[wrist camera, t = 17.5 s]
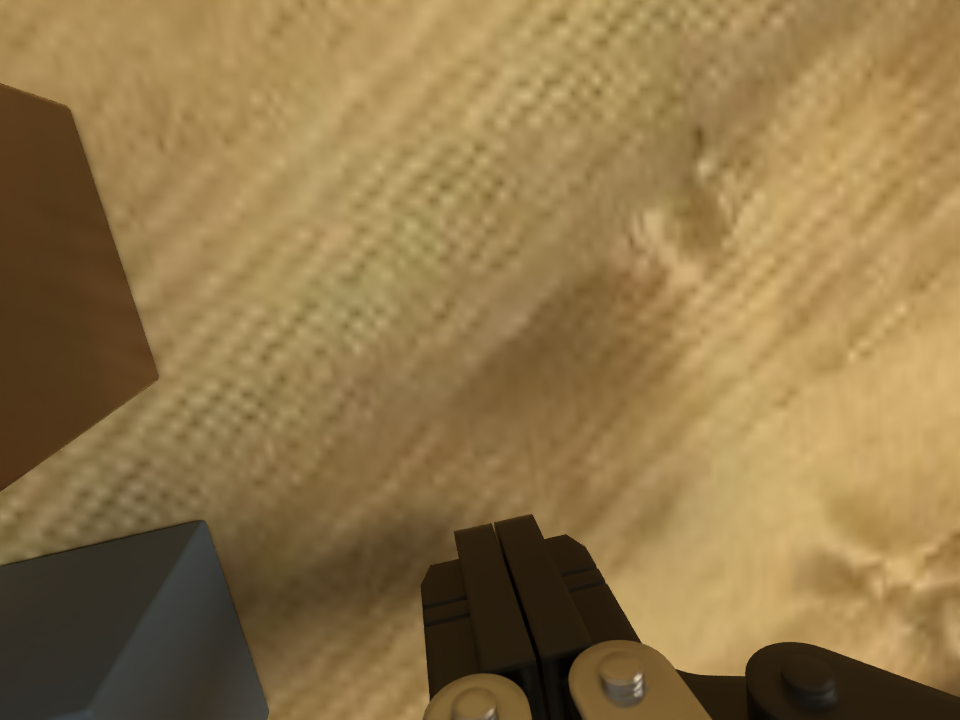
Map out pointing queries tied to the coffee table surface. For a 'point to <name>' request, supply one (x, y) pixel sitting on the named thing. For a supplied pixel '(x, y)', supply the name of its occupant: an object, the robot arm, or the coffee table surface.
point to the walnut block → (57, 291)
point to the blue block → (125, 634)
